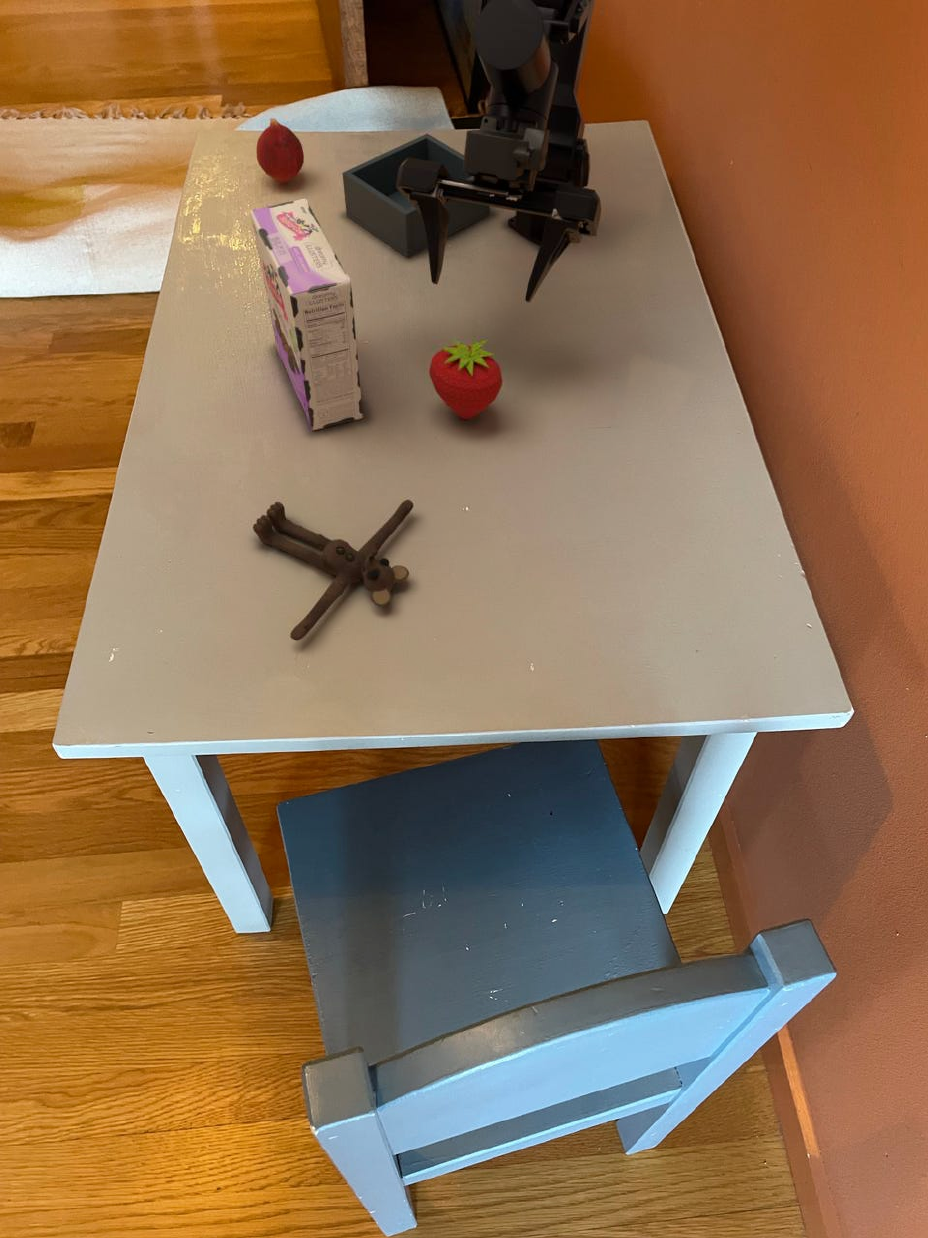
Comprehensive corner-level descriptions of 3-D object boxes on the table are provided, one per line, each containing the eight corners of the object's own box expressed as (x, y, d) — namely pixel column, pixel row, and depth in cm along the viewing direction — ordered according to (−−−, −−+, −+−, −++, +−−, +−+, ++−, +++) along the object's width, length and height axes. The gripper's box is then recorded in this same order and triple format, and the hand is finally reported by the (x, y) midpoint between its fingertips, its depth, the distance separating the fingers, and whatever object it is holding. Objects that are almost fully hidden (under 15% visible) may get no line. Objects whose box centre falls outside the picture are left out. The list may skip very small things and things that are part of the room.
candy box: (274, 348, 99) (247, 206, 85) (326, 336, 100) (307, 194, 86) (310, 433, 91) (287, 293, 78) (366, 418, 93) (352, 278, 79)
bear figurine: (321, 448, 86) (450, 499, 81) (329, 480, 89) (454, 531, 84) (195, 577, 77) (332, 643, 72) (210, 607, 81) (341, 673, 76)
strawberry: (446, 386, 96) (447, 306, 87) (510, 411, 94) (516, 331, 85) (418, 420, 93) (415, 341, 84) (483, 447, 91) (487, 368, 82)
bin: (428, 175, 118) (427, 132, 113) (489, 214, 113) (491, 171, 109) (346, 216, 113) (342, 172, 108) (407, 258, 108) (405, 214, 103)
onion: (313, 173, 118) (305, 110, 111) (298, 197, 115) (289, 134, 108) (270, 166, 119) (260, 103, 112) (255, 190, 115) (243, 127, 109)
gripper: (397, 63, 77) (363, 255, 80) (614, 98, 74) (570, 294, 77) (427, 113, 87) (395, 280, 90) (617, 145, 85) (578, 316, 88)
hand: (480, 292), depth 86 cm, fingers open, 9 cm apart
